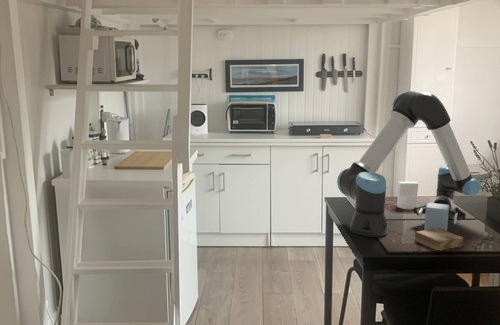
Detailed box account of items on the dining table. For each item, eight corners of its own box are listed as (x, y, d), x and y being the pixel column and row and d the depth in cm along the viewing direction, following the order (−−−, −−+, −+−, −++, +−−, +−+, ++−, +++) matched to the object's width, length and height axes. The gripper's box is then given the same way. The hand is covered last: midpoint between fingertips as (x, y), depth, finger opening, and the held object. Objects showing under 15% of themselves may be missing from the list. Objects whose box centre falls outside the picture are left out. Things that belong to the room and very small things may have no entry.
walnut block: (437, 251, 178) (438, 241, 178) (414, 241, 189) (415, 231, 188) (462, 247, 183) (463, 237, 182) (438, 237, 194) (439, 228, 193)
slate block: (445, 236, 194) (447, 209, 192) (423, 233, 198) (425, 207, 196) (447, 230, 201) (449, 204, 199) (426, 227, 205) (428, 202, 203)
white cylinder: (412, 204, 241) (414, 180, 239) (419, 209, 233) (421, 184, 230) (394, 204, 241) (396, 180, 239) (400, 209, 232) (402, 184, 230)
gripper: (472, 217, 210) (469, 231, 192) (412, 210, 221) (404, 222, 203) (474, 200, 209) (471, 213, 190) (413, 194, 220) (405, 205, 201)
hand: (436, 218), depth 196 cm, fingers open, 13 cm apart
